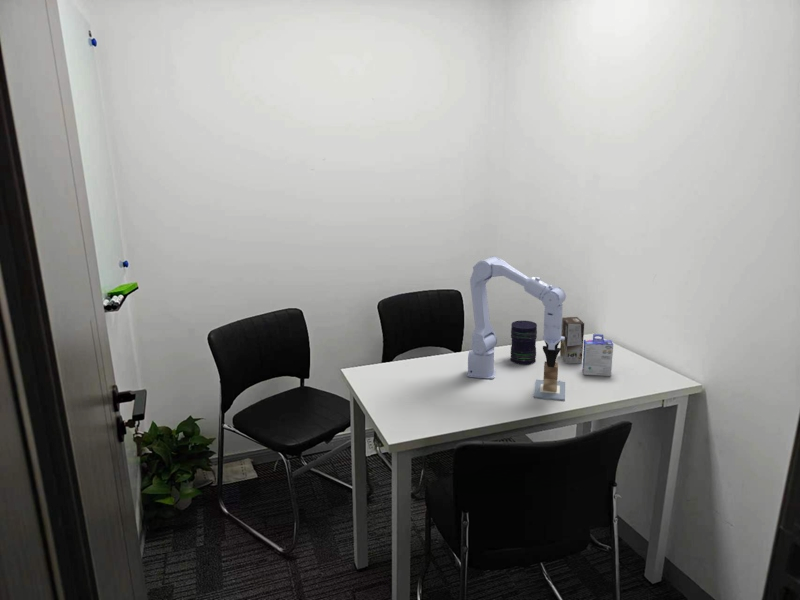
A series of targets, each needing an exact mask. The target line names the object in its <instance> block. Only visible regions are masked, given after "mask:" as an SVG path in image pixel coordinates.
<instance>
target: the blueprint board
mask: <svg viewBox="0 0 800 600" xmlns="http://www.w3.org/2000/svg"><path fill="white" fill-rule="evenodd" d="M543 380H544V379H536V380H535V386H534V394H533V398H534V399H540V400H541V399H542V400H553V401H561V402H562V401H563V402H564V401H566V381H559V380H557V392H550V391H543Z"/></svg>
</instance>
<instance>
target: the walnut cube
mask: <svg viewBox="0 0 800 600" xmlns="http://www.w3.org/2000/svg"><path fill="white" fill-rule="evenodd" d="M543 364H544V366H543V380H544V379H554V380H557V381H558V373H559V362H557V361H556V362H555V366H554V367H548V366H547V361H544V363H543Z"/></svg>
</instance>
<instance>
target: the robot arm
mask: <svg viewBox="0 0 800 600" xmlns="http://www.w3.org/2000/svg"><path fill="white" fill-rule="evenodd" d="M496 277H505V278H507V279H509V280H510V281H512V282H515V283H516V284H518V285H520V286H522V287H523V289H524V291H525V293H527V294H529V295H531V296H532V297H534V298H536V299H537V300H539V301H541V302H542V303H541V304H542V305H543V306H544V311H543V312H544V313H543V314H544V316H543V335H542V340H543V341H544V343H545V345H543V346H542V350H543V353H544V355H545V359H546V362H547V366H548V367H554V366H555V362H557V357H558V355H559V354H560V349H561V348H560V347H559V345H560V344H561V340H565V337H563V336H561V330H562V318H563V305H564V304H563V303H564V302H565V301H566V297H567V295H566V293H565V291H564V290H563V289H562V288H561V287H559V286H554V287H553V284H548V283H546V282H545V281H543V280H541V277H540V276H537V277H536V276H531V277H529V276H527V275H526V274H524V273H522V272H521V271H519V270H518V269H517V268H514V266H512V265H510V264H509V263H507V261H505V260H504V259H501V258H499V257H498V256H490V257H489V258H486V259H483V260H480V261H478V262H477V263H476V264H474V266H473V267H472V273H471V276H470V279H469V283H470V292H471V302H472V309H473V318H474V329H473V332H472V334H471V342H470V348H471V350H469V351H468V355H467V377H468V378H476V379H477V378H478V379H488V380H491V379H492V380H494V378H495V376H496V372H497V370H496V369H495V347H496V346H497V344H498V337H497V336H496V333H495V328H493V327H492V326H491V321H490V313H489V312H490V311H489V302H488V294H487V293H488V292H487V291H488V290H487V283H488V282H489V281H490V280H491V279H492V278H496Z"/></svg>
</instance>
